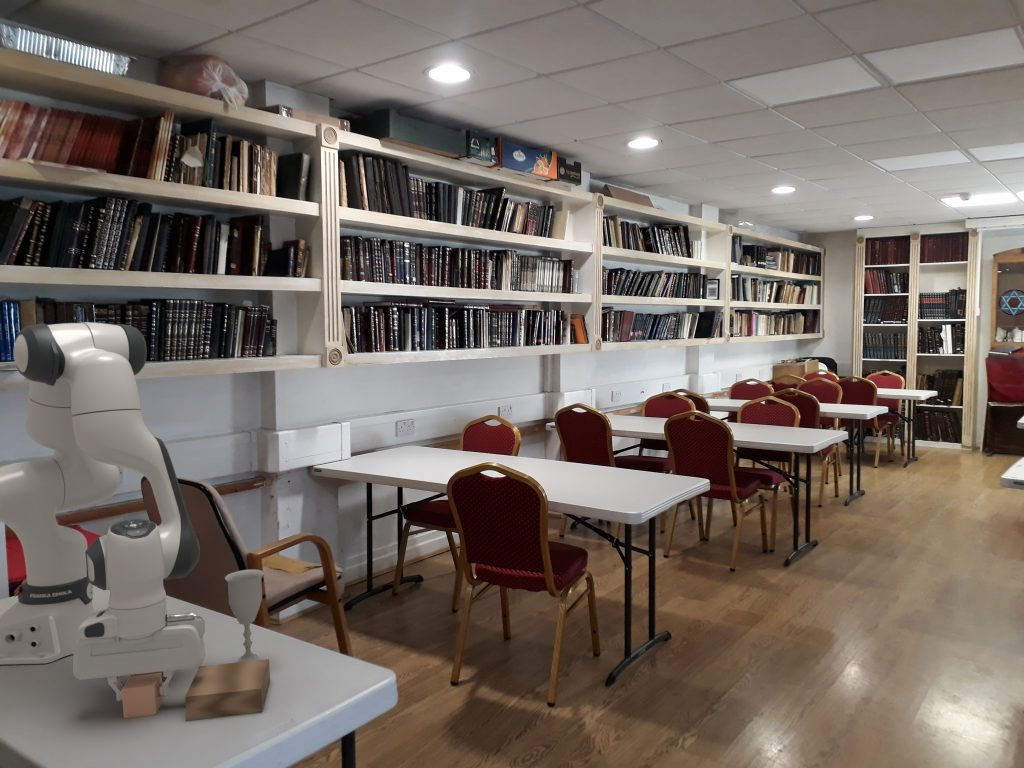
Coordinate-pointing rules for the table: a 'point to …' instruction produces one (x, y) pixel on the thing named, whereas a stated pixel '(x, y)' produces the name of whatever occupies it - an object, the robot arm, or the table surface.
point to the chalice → (245, 603)
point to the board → (228, 689)
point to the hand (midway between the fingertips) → (143, 697)
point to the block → (141, 695)
